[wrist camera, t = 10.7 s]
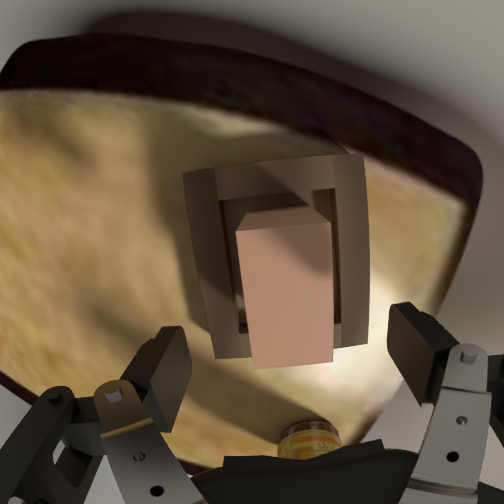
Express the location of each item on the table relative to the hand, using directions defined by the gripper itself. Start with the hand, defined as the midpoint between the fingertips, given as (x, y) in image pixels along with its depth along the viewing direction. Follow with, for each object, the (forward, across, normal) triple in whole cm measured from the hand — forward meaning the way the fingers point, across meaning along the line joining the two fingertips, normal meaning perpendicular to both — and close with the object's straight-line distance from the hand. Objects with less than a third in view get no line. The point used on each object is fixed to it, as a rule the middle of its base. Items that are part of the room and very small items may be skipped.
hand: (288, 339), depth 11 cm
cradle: (+11, 0, 0) cm, 11 cm away
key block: (+10, 0, 0) cm, 10 cm away
